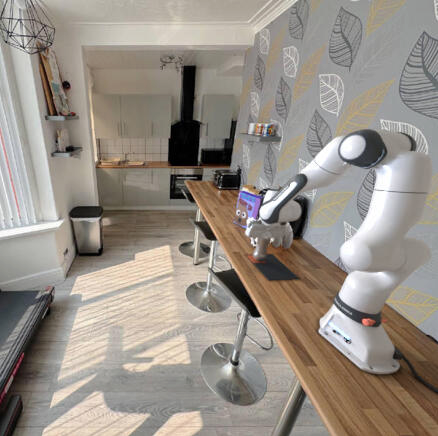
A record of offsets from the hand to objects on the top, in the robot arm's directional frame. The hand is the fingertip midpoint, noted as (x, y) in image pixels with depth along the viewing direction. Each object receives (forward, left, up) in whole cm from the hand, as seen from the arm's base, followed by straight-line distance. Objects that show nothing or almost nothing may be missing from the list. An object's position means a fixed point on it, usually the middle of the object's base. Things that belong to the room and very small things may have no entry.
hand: (262, 244), depth 123 cm
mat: (-6, -4, -10) cm, 12 cm away
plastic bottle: (0, 0, -10) cm, 10 cm away
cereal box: (+42, -15, -10) cm, 46 cm away
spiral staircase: (+15, -15, -10) cm, 24 cm away
